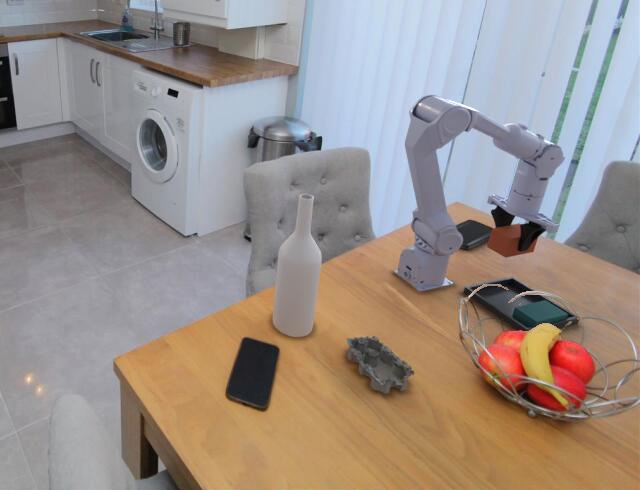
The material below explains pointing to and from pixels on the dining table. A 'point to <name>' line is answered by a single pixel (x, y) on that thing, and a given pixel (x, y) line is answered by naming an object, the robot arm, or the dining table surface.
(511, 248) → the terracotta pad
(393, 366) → the egg carton
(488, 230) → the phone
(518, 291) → the pad tray
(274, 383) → the dining table surface
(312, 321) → the bottle
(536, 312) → the teal pad
